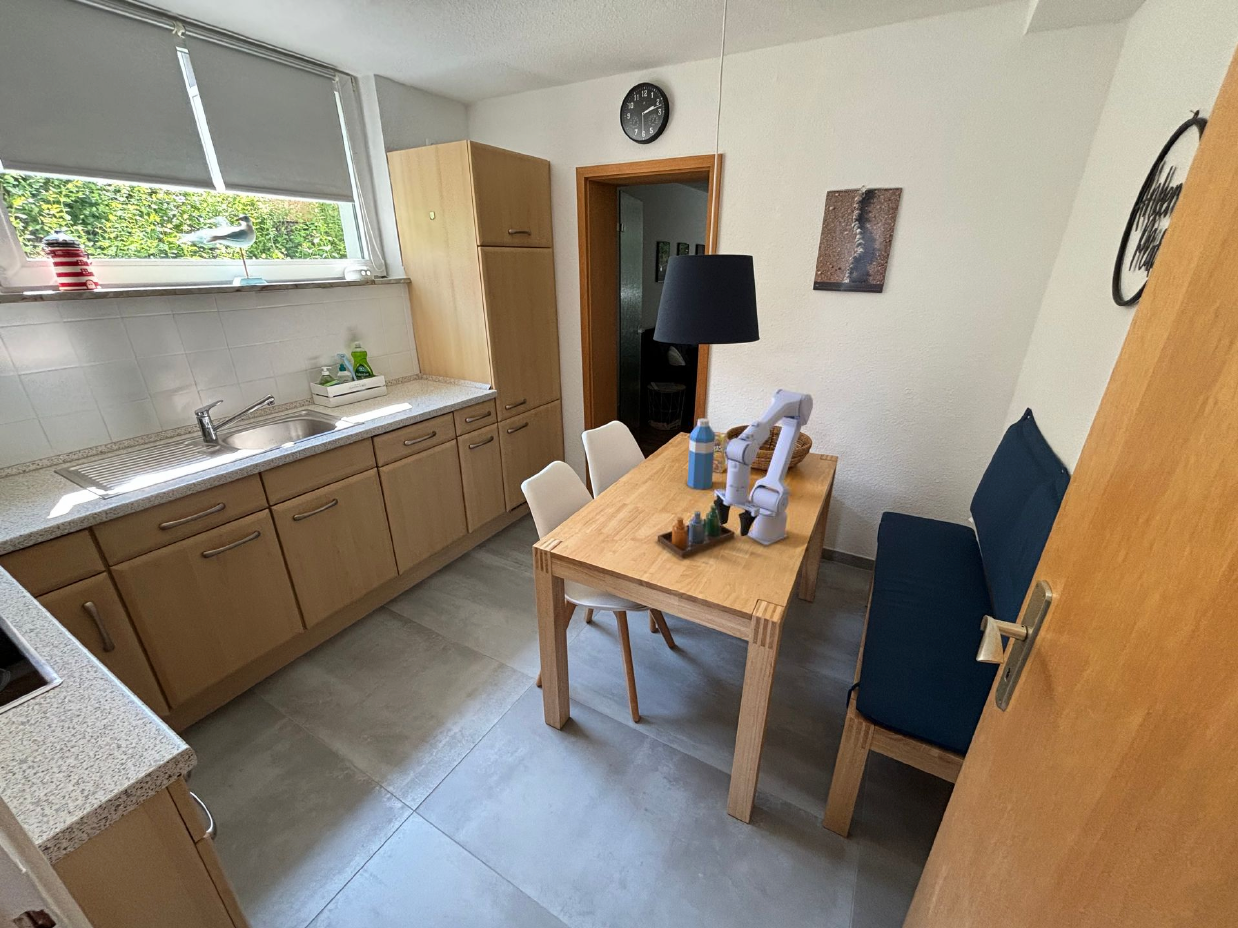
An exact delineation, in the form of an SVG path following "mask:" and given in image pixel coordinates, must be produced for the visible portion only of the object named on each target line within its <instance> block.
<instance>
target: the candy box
mask: <svg viewBox="0 0 1238 928" xmlns="http://www.w3.org/2000/svg"><path fill="white" fill-rule="evenodd" d="M713 432H714V433H715V447H714V461H713V472H716V473H720V474H722V473H723V472H724V470H725V467H726V458H725V455H724V450H725V448H726V445H727V443H728V433H726V432H720V431H713Z"/></svg>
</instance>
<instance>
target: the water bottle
mask: <svg viewBox="0 0 1238 928" xmlns="http://www.w3.org/2000/svg"><path fill="white" fill-rule="evenodd" d="M714 432H715V431H714V430H713V429H712V427H711V426H710V419H709V418H703V417H702V418H698V419H697V425H696V426H695V427H694V428H693V430H692V431H691V432H690V434H689V446H688V467H687V486H688V487H690V488H691V489H694V490H695V489H696V490H707V489H710V488H712V485H713V475H714V474H713V473H714V471H713V461H714V447H715V433H714Z"/></svg>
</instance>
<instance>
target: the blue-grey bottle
mask: <svg viewBox="0 0 1238 928" xmlns="http://www.w3.org/2000/svg"><path fill="white" fill-rule="evenodd" d="M701 514H702V513H701V510H700V511H699V510H695V511H694V513H693V516H692V517H691V518H690V519H689V520H688V521H689V523H688V525H689V540H690V541H691V542H694V543H700V542H702V541H703V540H704V524H705V522H704V520H703V518H702V517H701Z"/></svg>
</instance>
